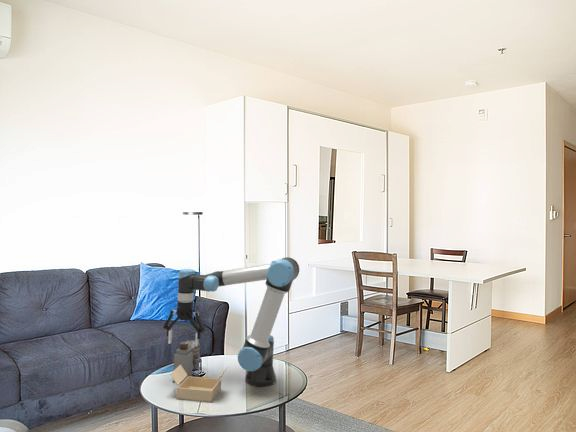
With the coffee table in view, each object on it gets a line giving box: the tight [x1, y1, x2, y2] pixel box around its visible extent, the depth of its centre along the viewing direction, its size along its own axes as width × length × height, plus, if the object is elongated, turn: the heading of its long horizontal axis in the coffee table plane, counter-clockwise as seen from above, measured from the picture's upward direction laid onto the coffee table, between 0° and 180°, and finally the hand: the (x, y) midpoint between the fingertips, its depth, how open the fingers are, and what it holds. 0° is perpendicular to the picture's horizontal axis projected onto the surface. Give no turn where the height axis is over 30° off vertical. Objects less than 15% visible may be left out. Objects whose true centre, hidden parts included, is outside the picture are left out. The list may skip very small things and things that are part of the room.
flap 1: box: [169, 365, 187, 386], centre depth 217 cm, size 6×13×1 cm
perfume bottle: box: [172, 342, 193, 385], centre depth 231 cm, size 7×7×18 cm
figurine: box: [178, 339, 201, 371], centre depth 249 cm, size 10×11×15 cm
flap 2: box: [213, 367, 228, 388], centre depth 215 cm, size 6×13×1 cm
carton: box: [175, 375, 222, 403], centre depth 216 cm, size 16×15×5 cm
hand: (183, 344), depth 231 cm, fingers open, 13 cm apart
